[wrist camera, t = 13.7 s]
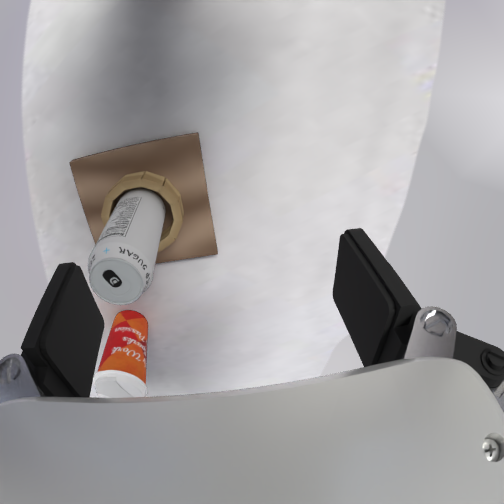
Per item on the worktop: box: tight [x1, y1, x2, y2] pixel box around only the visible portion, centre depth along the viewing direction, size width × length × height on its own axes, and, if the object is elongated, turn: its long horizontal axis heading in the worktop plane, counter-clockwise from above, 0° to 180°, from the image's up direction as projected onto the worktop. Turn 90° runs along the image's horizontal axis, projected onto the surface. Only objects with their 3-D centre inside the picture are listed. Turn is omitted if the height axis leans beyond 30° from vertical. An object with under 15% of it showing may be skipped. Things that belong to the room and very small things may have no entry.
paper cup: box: [93, 310, 148, 398], centre depth 43 cm, size 8×8×14 cm
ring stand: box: [70, 133, 218, 264], centre depth 37 cm, size 16×16×4 cm
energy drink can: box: [88, 188, 166, 305], centre depth 31 cm, size 6×6×15 cm
